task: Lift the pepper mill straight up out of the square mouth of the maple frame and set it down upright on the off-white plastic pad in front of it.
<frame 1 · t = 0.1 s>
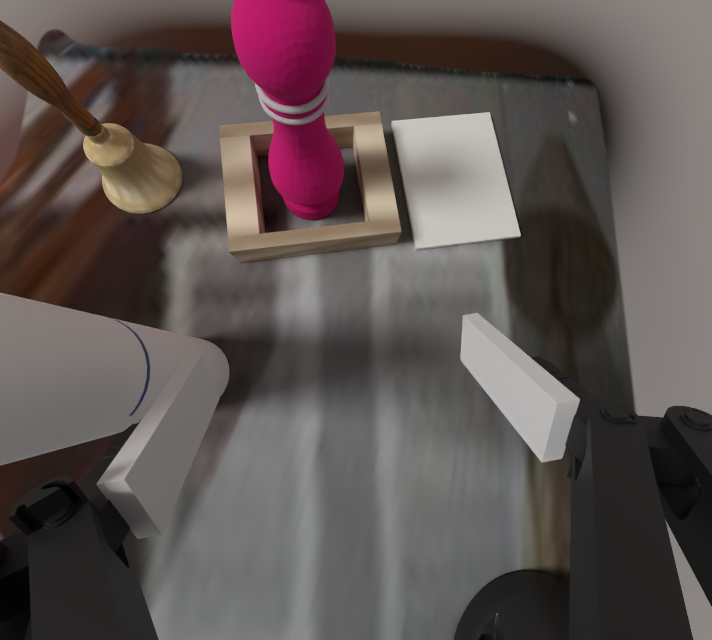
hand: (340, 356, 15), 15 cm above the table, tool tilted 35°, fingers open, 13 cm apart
pepper mill: (311, 195, 34), resting in maple frame
plastic pad: (453, 179, 35), on the table
cylindrical container: (193, 374, 30), on the table
maple frame: (311, 194, 33), on the table
hand bell: (145, 180, 33), on the table
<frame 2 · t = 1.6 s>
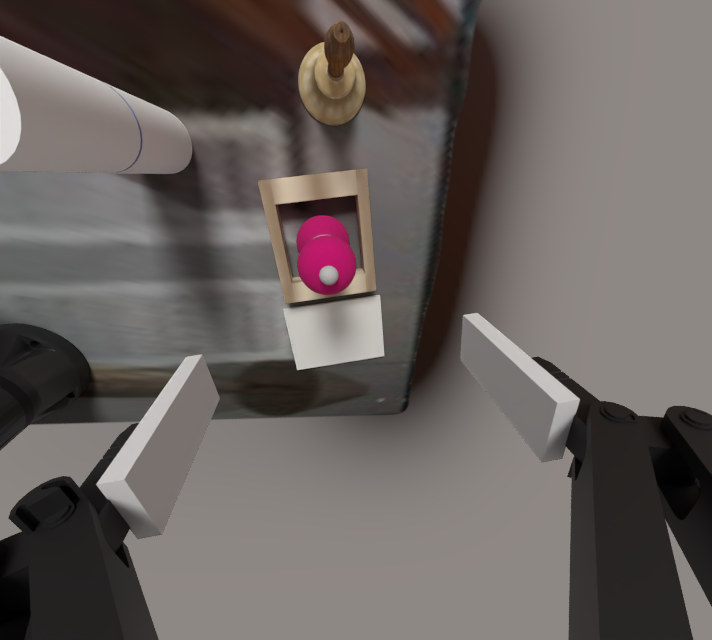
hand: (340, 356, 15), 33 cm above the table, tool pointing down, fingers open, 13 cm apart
pepper mill: (322, 237, 45), resting in maple frame
plastic pad: (336, 333, 52), on the table
cylindrical container: (162, 142, 37), on the table
maple frame: (322, 237, 45), on the table
hand bell: (332, 86, 37), on the table
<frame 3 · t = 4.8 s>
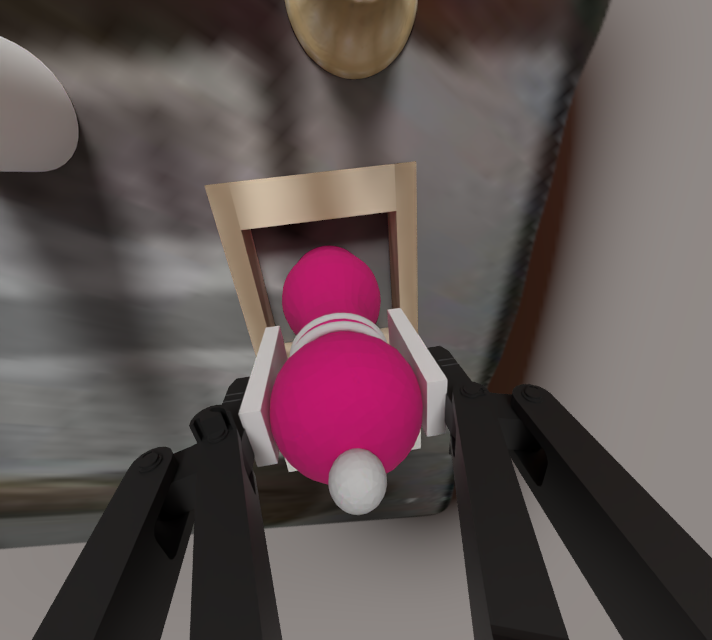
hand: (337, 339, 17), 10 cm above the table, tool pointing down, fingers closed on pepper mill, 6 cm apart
pepper mill: (329, 280, 26), resting in maple frame, touching gripper
cylindrical container: (14, 109, 19), on the table
maple frame: (329, 280, 26), on the table
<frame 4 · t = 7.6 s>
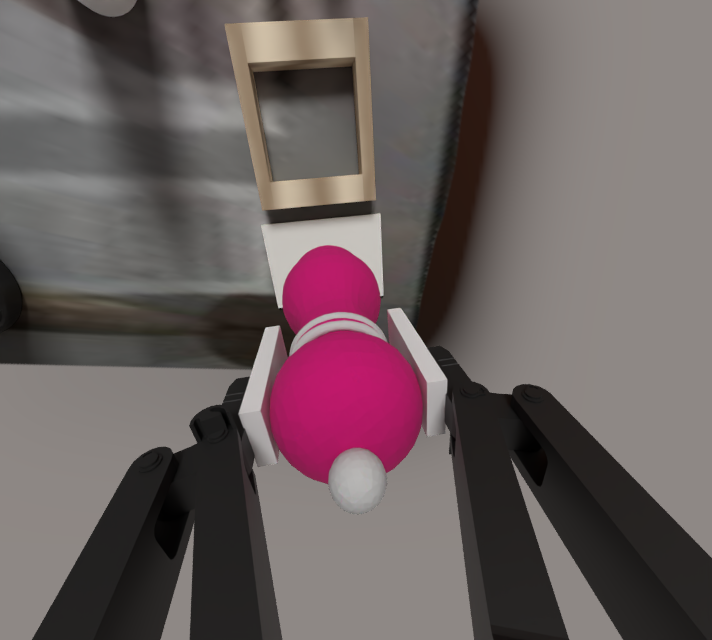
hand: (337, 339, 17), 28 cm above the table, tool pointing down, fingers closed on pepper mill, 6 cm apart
pepper mill: (329, 280, 26), point 17 cm above the table, touching gripper
plastic pad: (326, 262, 43), on the table
maple frame: (310, 127, 36), on the table
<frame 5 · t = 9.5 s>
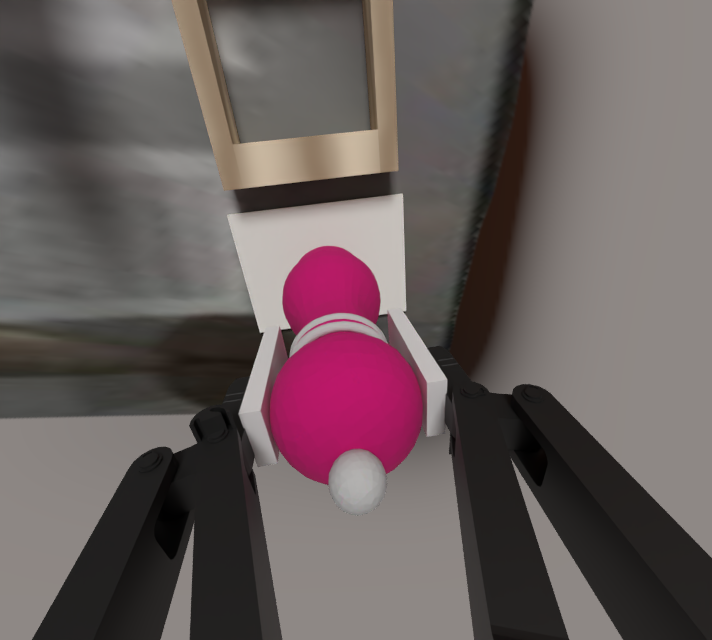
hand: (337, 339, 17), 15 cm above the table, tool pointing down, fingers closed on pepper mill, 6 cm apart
pepper mill: (329, 280, 26), point 4 cm above the table, touching gripper
plastic pad: (326, 266, 30), on the table
maple frame: (294, 57, 23), on the table
when the fingers open (12 cm above the table, at t = 10.8 s): pepper mill stays where it is, resting on plastic pad.
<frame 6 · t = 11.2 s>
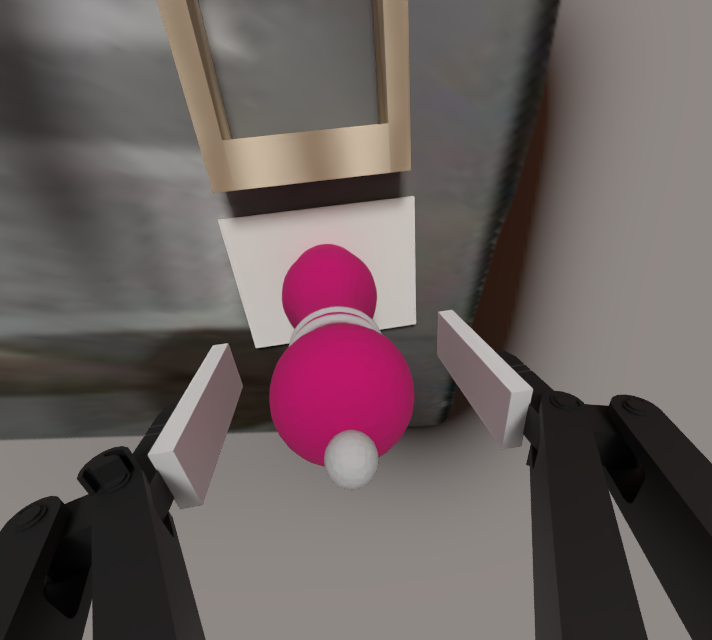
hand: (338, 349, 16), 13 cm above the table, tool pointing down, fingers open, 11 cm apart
pepper mill: (327, 277, 27), resting on plastic pad
plastic pad: (328, 276, 27), on the table
maple frame: (293, 41, 20), on the table
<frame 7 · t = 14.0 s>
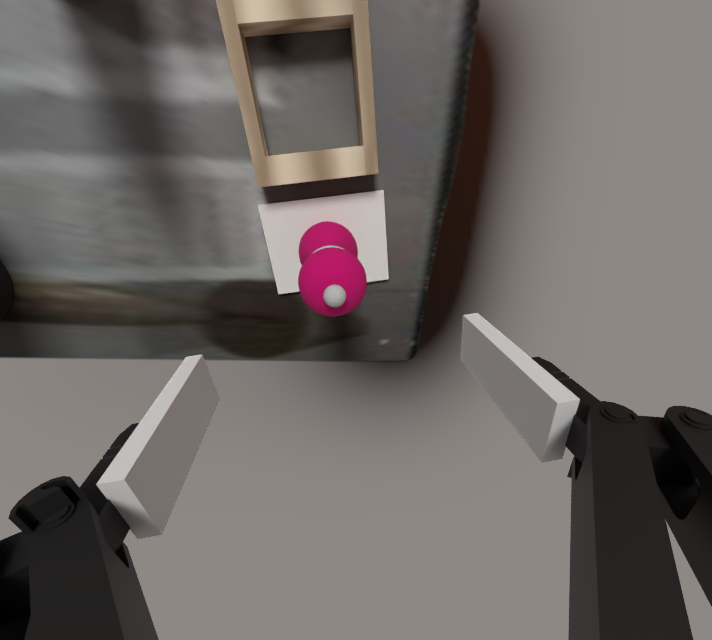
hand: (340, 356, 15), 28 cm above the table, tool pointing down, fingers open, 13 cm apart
pepper mill: (327, 244, 40), resting on plastic pad
plastic pad: (328, 244, 41), on the table
maple frame: (307, 97, 33), on the table
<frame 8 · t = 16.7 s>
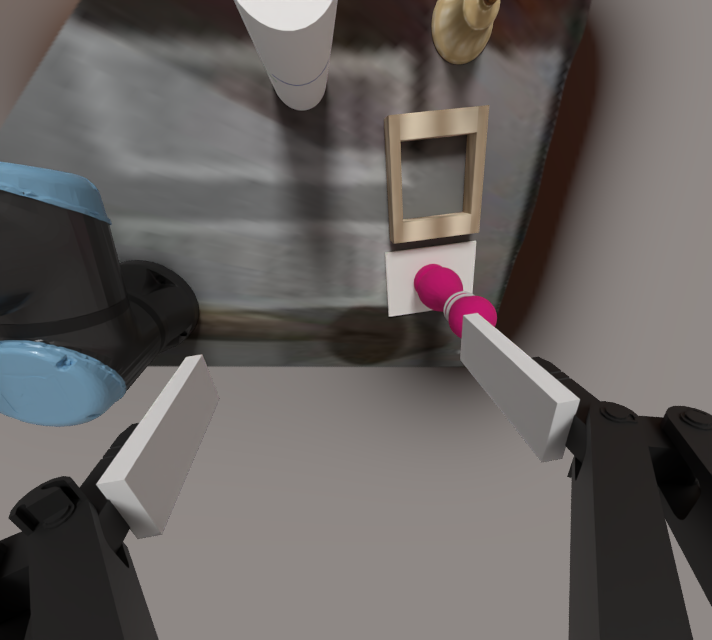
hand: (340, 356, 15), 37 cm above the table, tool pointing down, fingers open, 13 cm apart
pepper mill: (429, 280, 54), resting on plastic pad
plastic pad: (429, 279, 54), on the table
cylindrical container: (299, 78, 39), on the table
maple frame: (430, 179, 46), on the table
hand bell: (461, 24, 39), on the table
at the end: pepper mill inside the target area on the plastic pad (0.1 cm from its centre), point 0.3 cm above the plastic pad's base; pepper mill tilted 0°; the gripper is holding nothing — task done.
